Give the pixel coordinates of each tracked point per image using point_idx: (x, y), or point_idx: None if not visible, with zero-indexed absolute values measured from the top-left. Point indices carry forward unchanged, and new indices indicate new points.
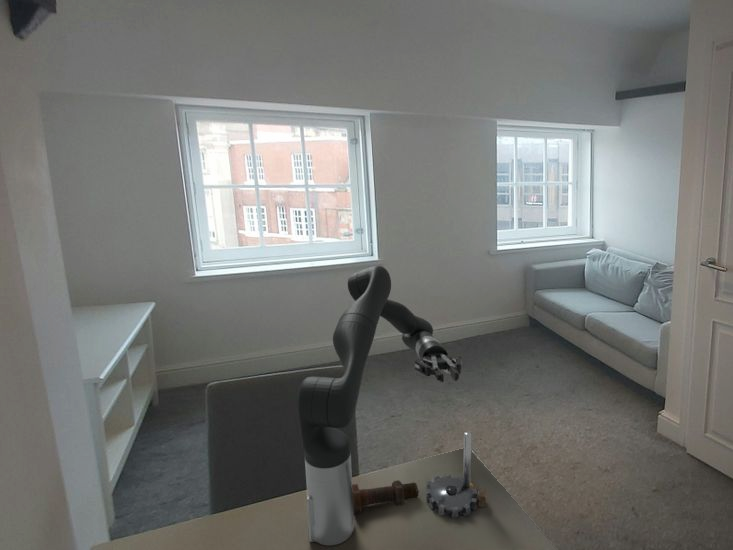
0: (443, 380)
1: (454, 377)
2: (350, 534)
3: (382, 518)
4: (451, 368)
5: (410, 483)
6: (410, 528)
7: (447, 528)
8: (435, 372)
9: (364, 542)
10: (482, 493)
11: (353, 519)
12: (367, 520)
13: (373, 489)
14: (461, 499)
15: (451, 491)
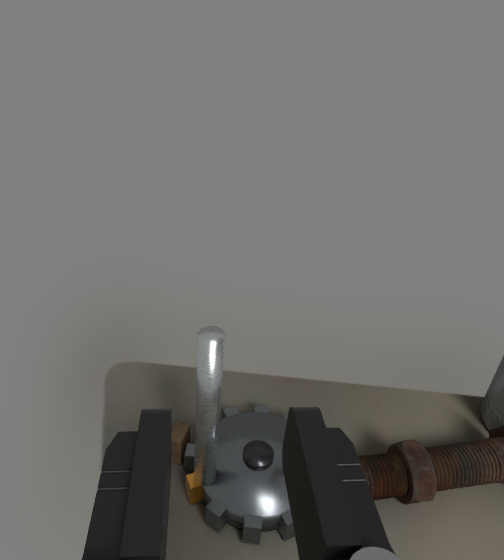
0: (283, 445)
1: (170, 449)
2: (481, 404)
3: (428, 439)
4: (159, 517)
5: (380, 474)
6: (360, 410)
7: (281, 402)
8: (370, 493)
9: (446, 394)
10: (177, 430)
11: (490, 403)
12: (462, 438)
13: (481, 453)
14: (237, 430)
15: (260, 444)
